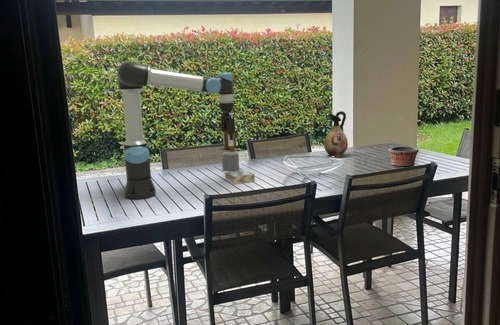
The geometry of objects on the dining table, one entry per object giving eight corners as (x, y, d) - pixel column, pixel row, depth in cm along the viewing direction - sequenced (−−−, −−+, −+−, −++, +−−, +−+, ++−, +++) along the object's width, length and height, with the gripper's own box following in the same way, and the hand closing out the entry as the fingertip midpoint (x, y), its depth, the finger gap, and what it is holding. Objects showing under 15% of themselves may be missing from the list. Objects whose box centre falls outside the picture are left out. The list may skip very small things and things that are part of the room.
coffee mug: (241, 170, 270) (240, 153, 268) (225, 172, 267) (224, 155, 265) (234, 166, 283) (233, 150, 281) (218, 167, 279) (218, 151, 277)
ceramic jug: (329, 159, 294) (329, 113, 287) (320, 154, 308) (320, 110, 302) (353, 157, 297) (354, 111, 291) (344, 153, 312) (344, 109, 305)
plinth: (233, 184, 239) (233, 176, 238) (225, 179, 250) (225, 172, 249) (254, 181, 244) (254, 173, 243) (245, 176, 254) (245, 169, 253)
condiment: (238, 149, 246) (238, 127, 243) (225, 151, 241) (224, 129, 239) (231, 147, 252) (230, 126, 249) (218, 149, 247) (217, 127, 245)
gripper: (240, 102, 234) (242, 146, 239) (226, 100, 251) (228, 142, 256) (226, 103, 231) (229, 148, 236) (213, 101, 248) (215, 143, 253)
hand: (228, 144), depth 246 cm, fingers closed on condiment, 6 cm apart
